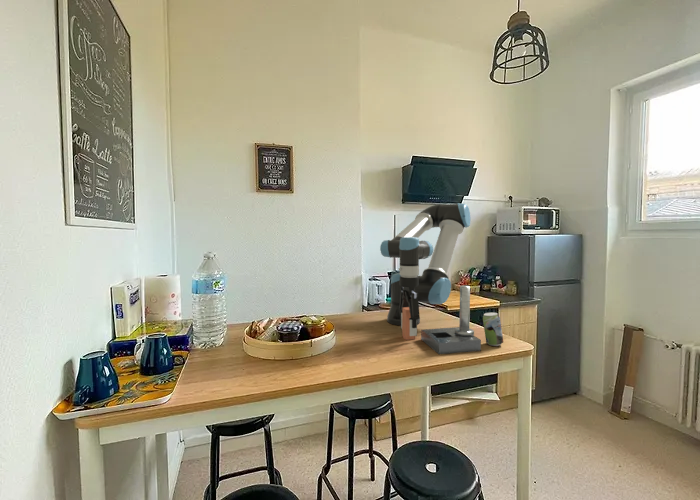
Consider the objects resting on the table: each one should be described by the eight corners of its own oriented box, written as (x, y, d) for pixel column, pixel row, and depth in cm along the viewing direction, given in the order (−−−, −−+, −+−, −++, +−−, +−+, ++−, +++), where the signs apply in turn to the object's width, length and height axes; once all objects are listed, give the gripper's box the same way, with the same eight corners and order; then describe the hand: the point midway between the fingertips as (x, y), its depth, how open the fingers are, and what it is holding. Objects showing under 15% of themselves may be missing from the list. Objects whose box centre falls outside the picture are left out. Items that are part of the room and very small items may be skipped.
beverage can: (505, 348, 127) (505, 315, 126) (483, 346, 129) (484, 314, 128) (501, 342, 133) (501, 311, 132) (480, 341, 135) (481, 310, 134)
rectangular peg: (402, 336, 141) (402, 307, 140) (411, 336, 142) (411, 307, 141) (405, 339, 137) (405, 309, 136) (415, 339, 138) (415, 309, 137)
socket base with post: (421, 339, 137) (421, 284, 136) (461, 336, 140) (462, 282, 139) (439, 354, 121) (439, 292, 120) (484, 350, 125) (485, 289, 123)
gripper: (391, 272, 148) (391, 324, 149) (409, 280, 126) (409, 341, 128) (408, 272, 149) (408, 323, 151) (429, 279, 128) (428, 339, 129)
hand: (408, 331), depth 139 cm, fingers open, 9 cm apart
